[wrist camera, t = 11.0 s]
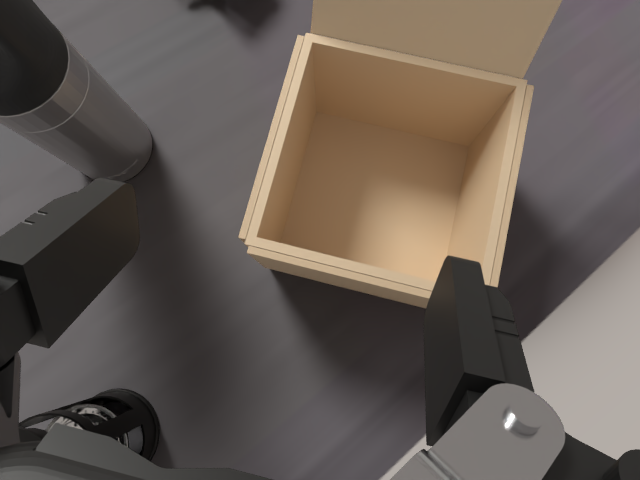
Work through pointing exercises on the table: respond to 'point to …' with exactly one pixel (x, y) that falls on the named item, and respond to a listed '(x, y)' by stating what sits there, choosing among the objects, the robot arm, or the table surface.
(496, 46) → the carton flap
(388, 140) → the carton
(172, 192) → the table surface
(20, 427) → the french press
